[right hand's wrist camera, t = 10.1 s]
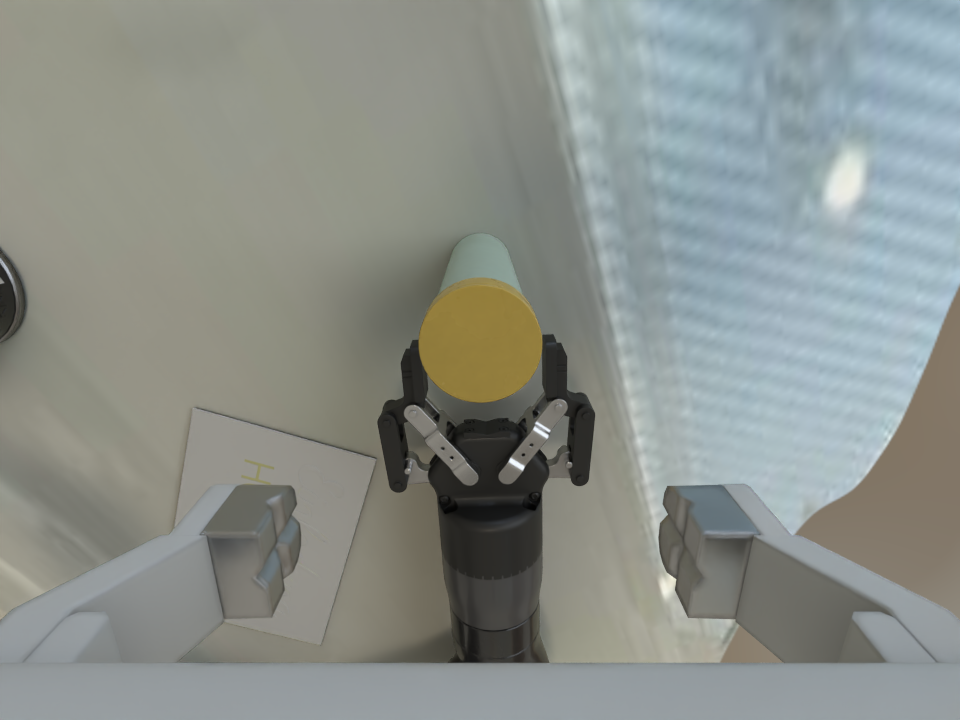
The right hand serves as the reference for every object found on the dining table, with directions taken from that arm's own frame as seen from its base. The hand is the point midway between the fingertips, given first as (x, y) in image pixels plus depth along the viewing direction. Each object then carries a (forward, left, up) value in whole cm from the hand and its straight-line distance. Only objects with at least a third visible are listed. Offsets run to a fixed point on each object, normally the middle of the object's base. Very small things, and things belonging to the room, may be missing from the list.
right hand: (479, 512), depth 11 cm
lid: (0, 0, -11) cm, 11 cm away
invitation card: (+30, -5, -30) cm, 43 cm away
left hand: (+3, +2, -24) cm, 24 cm away
